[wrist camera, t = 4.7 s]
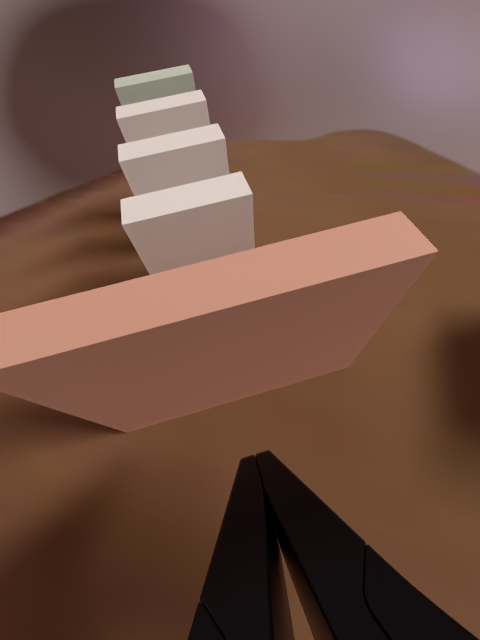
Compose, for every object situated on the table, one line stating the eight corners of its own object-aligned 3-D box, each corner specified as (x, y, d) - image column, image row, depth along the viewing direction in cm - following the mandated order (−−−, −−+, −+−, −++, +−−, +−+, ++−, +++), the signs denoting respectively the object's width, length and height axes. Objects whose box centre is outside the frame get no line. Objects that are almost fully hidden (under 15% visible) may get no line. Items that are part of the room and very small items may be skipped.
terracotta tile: (348, 367, 17) (438, 251, 8) (127, 432, 16) (-39, 379, 7) (334, 340, 18) (401, 211, 9) (125, 399, 17) (-21, 318, 8)
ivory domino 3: (257, 324, 19) (252, 193, 10) (188, 343, 18) (121, 224, 10) (251, 306, 19) (241, 171, 11) (184, 324, 19) (120, 199, 10)
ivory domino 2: (240, 277, 21) (225, 138, 12) (179, 293, 21) (118, 161, 12) (235, 262, 22) (217, 123, 13) (176, 278, 21) (117, 144, 13)
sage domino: (216, 208, 25) (192, 72, 17) (165, 220, 25) (114, 88, 17) (212, 198, 26) (188, 64, 18) (163, 210, 26) (114, 79, 17)
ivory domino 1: (227, 239, 23) (206, 100, 15) (171, 253, 23) (116, 119, 14) (223, 227, 24) (201, 89, 15) (169, 241, 24) (115, 107, 15)
